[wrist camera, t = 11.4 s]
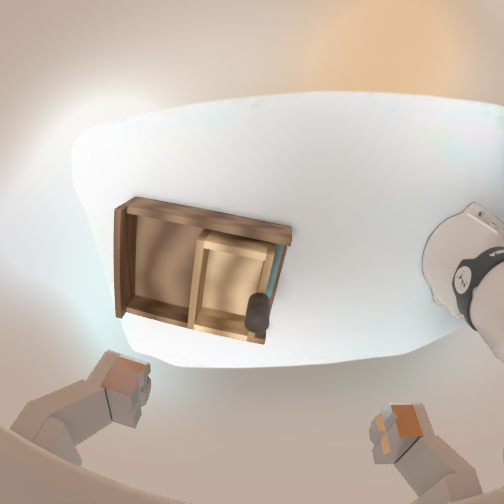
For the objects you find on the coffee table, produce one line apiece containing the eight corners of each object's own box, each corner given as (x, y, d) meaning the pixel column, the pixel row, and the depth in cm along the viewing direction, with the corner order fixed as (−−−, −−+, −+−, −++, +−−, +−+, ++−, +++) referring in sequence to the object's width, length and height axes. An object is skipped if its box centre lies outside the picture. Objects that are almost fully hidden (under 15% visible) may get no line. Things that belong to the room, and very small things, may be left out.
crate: (282, 240, 46) (282, 275, 36) (262, 320, 51) (257, 366, 41) (207, 224, 46) (186, 255, 36) (196, 306, 51) (178, 349, 41)
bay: (290, 227, 46) (292, 244, 40) (265, 326, 53) (263, 352, 47) (135, 196, 46) (114, 209, 40) (132, 295, 53) (115, 316, 47)
